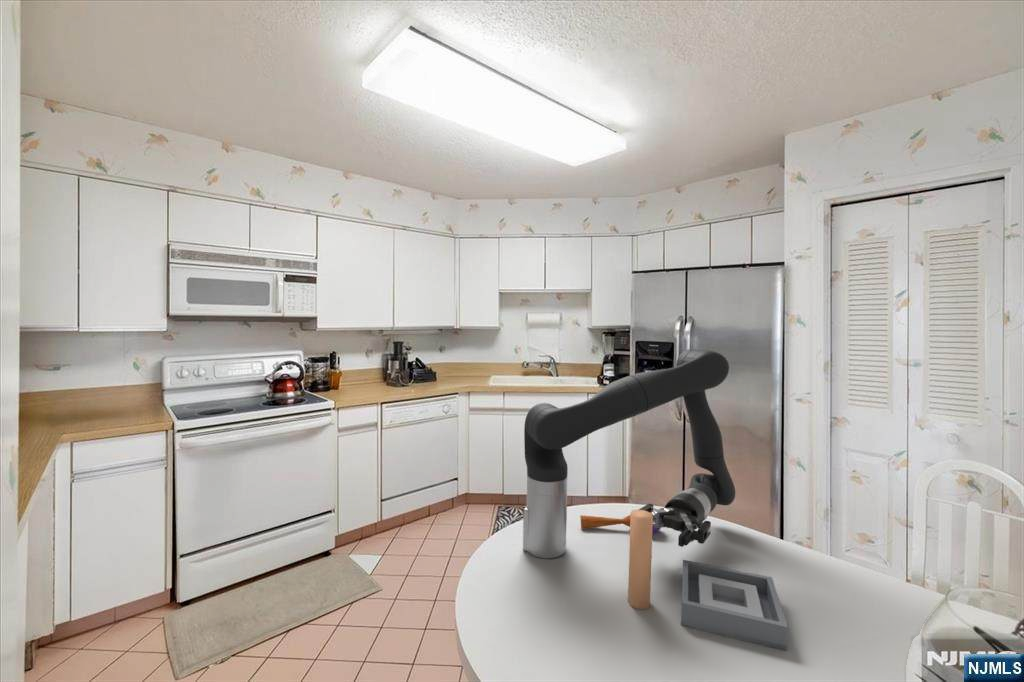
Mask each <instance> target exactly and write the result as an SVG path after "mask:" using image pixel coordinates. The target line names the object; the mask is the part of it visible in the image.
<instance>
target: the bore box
mask: <svg viewBox="0 0 1024 682" xmlns="http://www.w3.org/2000/svg"><path fill="white" fill-rule="evenodd" d="M681 575H682V578H681V579H682V580H681V611H680V613H681V614H680V617H681V620H680V624H681V625H680V626H685V627H688V628H689V627H690V628H691V629H692V628H693V629H696V630H700V631H704V632H709V633H713V634H717V635H721V636H725V637H728V638H729V637H730V638H733V639H737V640H741V641H746V642H749V643H753V644H757V645H761V646H765V647H769V648H772V649H777V650H782V651H786V652H787V649H788V633H789V632H788V631H789V627H788V622H787V621H786V617H785V614H784V611H783V608H782V605H781V602H780V598H779V595H778V593H777V590H776V586H775V583H774V579H773V577H772V576H767V575H762V574H758V573H754V572H753V573H752V572H748V571H742V570H737V569H732V568H728V567H727V568H726V567H722V566H717V565H711V564H707V563H703V562H697V561H693V560H688V559H682V574H681Z"/></svg>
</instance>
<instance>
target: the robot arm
mask: <svg viewBox="0 0 1024 682" xmlns="http://www.w3.org/2000/svg"><path fill="white" fill-rule="evenodd" d="M675 364H676V365H675V366H673V367H669V368H664V369H663V368H662V369H656V370H649V371H643V372H637V373H633V374H630V375H627V376H625V377H622V378H619V379H616V380H614V381H612V382H610V383H608V384H606V385H605V386H604V387H603V388H601V389H600V390H599V391H598V392H597V393H596V394H594V395H593V396H592V397H590V398H588V399H587V400H584V401H582V402H579V403H575V404H573V405H570V406H566V407H561V408H560V407H557V406H555V405H553V404H551V403H548V402H546V403H545V402H541V403H538V404H536V405H534V406H532V407H531V408H530V409H529V410H528V412H527V414H526V416H525V420H524V427H523V428H524V429H523V430H524V436H523V437H524V439H523V440H524V442H523V443H524V444H523V445H524V460H525V465H526V506H525V507H524V508H523V511H522V512H523V514H522V515H523V519H522V520H523V521H522V523H523V524H522V526H523V527H522V528H523V529H522V530H523V531H522V534H523V535H522V551H525V552H528V553H529V554H530V555H533V556H534V557H537V558H542V559H554V558H558V557H560V556H562V555H564V554H565V552H566V551H567V523H568V522H567V518H568V517H567V515H568V514H567V513H568V512H567V511H568V474H569V473H568V464H567V461H566V458H565V454H564V452H563V448H565V447H567V446H569V445H572V444H573V443H575V442H577V441H579V440H581V439H583V438H584V437H586V436H588V435H591V434H592V433H595V432H596V431H599V430H601V429H604V428H607V427H609V426H612V425H614V424H618V423H619V422H620V423H621V422H623V421H625V420H628V419H630V418H634V417H636V416H639V415H641V414H644V413H646V412H648V411H651V410H653V409H655V408H658V407H660V406H663V405H665V404H667V403H670V402H672V401H674V400H677V399H679V398H682V397H683V398H682V399H683V401H684V405H685V409H686V413H687V417H688V421H689V426H690V432H691V441H692V451H693V459H694V463H695V465H696V466H697V467H699V468H701V469H703V470H706V471H709V472H710V473H711V474H709V473H702V472H701V473H695V474H693V475H692V477H691V479H690V483H689V486H688V487H687V488H686V489H685V490H684V489H683V490H682V491H679V493H678V494H676V495H674V497H671V498H670V500H668V501H667V502H666V504H665V506H664V507H662V508H659V509H657V508H655V507H654V504H653V503H647V504H646V505H644V506H642V507H641V508H639V509H638V510H644V511H648V512H650V513H651V514H652V515H653V526H655V527H656V528H666V529H672V530H674V531H677V532H679V533H680V534H679V535H678V539H677V541H678V542H677V543H678V544H677V545H678V547H681V548H683V547H684V546H688V545H689V544H690V543H693V542H694V541H697V543H698V544H701V545H702V544H704V543H705V542H706V541H707V540H708V539H709V537H710V535H711V528H712V525H711V523H712V522H711V521H709V520H707V518H708V516H709V514H711V513H712V512H713V510H715V508H716V507H717V505H719V506H730V505H731V504H732V503H733V502H734V501H735V498H736V488H735V484H734V481H733V479H732V476H731V473H730V472H729V469H728V466H727V464H726V460H725V454H724V443H723V437H722V433H721V429H720V427H719V424H718V423H717V420H716V418H715V417H714V414H713V412H712V410H711V408H710V405H709V401H708V399H707V396H706V390H710V389H713V388H716V387H718V386H719V385H721V384H722V383H723V382H724V381H725V380H726V379H727V377H728V375H729V371H730V365H729V362H728V360H727V358H726V357H725V356H724V355H723V354H721V353H718V351H717V352H716V351H714V350H709V349H708V350H707V349H694V348H692V349H690V348H689V349H686V350H683V351H682V352H681V353H680V354H679V356H677V360H676V363H675ZM659 520H660V521H661V523H658V521H659Z"/></svg>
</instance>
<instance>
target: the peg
mask: <svg viewBox="0 0 1024 682" xmlns="http://www.w3.org/2000/svg"><path fill="white" fill-rule="evenodd" d="M629 515H630V527H629V551H628V552H629V554H628V557H629V558H628V583H627V584H628V585H627V586H628V589H627V590H628V591H627V603H628V604H629V606H631V607H632V608H634V609H636V610H647V609H648V608H650V606H651V589H652V587H651V586H652V585H651V584H652V583H651V582H652V559H653V557H652V554H653V534H652V528H653V515H652V514H651V513H650V512H648V511H644V510H639V509H634V510H631V511H630V514H629Z"/></svg>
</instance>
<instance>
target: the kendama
mask: <svg viewBox="0 0 1024 682" xmlns="http://www.w3.org/2000/svg"><path fill="white" fill-rule="evenodd" d="M658 523H661V521H660V520H659V521H658ZM621 524H622V525H624V526H627V527H629V528H630V514H629V515H627V516H625V517H623V518H615V517H603V516H591V515H583V514H582V515H580V529H581V530H585V529H586V530H587V529H593V528H601V527H609V526H614V525H621ZM660 530H661V528H656V527H655V526H653V528H652V535H654V534H656V533H658V532H659V531H660Z"/></svg>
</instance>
